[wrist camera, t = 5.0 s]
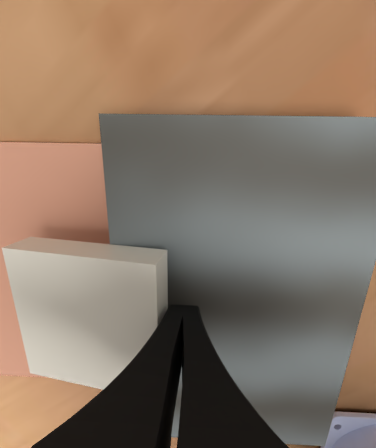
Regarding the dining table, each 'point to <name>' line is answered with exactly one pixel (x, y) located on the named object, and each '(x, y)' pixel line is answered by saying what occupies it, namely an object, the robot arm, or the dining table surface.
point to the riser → (256, 243)
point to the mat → (45, 216)
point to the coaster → (85, 305)
